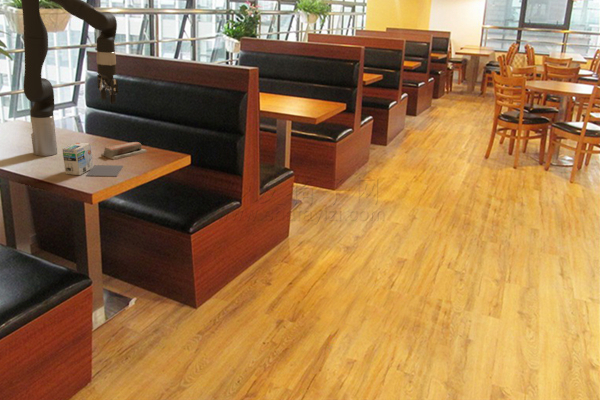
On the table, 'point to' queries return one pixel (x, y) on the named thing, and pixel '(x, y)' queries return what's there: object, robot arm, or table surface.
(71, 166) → the light bulb box
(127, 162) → the table surface
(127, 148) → the packaged product
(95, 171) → the mat
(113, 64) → the robot arm
